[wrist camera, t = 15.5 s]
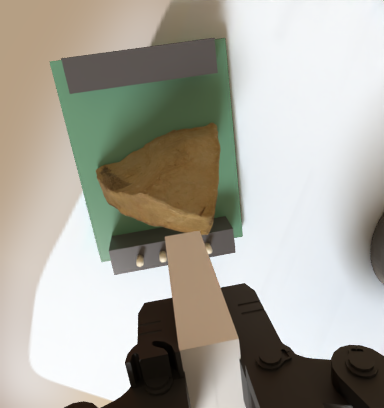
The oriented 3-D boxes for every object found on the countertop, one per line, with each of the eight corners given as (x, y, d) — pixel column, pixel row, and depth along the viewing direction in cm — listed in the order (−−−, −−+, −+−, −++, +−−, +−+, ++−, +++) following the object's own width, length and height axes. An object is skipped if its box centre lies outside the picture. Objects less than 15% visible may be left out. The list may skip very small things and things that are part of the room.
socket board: (221, 39, 29) (237, 32, 24) (239, 231, 36) (254, 255, 31) (53, 62, 28) (34, 59, 23) (102, 256, 34) (96, 285, 30)
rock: (81, 229, 29) (195, 254, 30) (59, 195, 21) (215, 231, 22) (114, 121, 33) (215, 146, 34) (106, 58, 25) (239, 92, 26)
